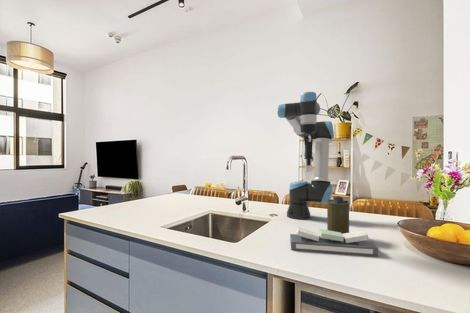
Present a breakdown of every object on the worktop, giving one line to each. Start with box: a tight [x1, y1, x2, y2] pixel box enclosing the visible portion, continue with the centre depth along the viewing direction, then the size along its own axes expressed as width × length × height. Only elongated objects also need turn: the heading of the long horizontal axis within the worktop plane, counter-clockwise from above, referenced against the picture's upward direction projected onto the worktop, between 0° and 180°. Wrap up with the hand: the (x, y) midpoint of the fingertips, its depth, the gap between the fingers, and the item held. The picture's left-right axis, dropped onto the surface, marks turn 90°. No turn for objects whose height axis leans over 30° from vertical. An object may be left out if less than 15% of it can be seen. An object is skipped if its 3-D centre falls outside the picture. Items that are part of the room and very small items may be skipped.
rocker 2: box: [342, 229, 370, 243], centre depth 100 cm, size 6×9×2 cm, turn 79°
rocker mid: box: [318, 228, 344, 242], centre depth 102 cm, size 6×9×2 cm, turn 79°
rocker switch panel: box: [289, 233, 379, 257], centre depth 102 cm, size 10×34×5 cm, turn 79°
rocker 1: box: [295, 226, 320, 241], centre depth 104 cm, size 6×9×2 cm, turn 79°
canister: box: [326, 195, 350, 234], centre depth 117 cm, size 11×10×20 cm
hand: (308, 172), depth 115 cm, fingers closed
